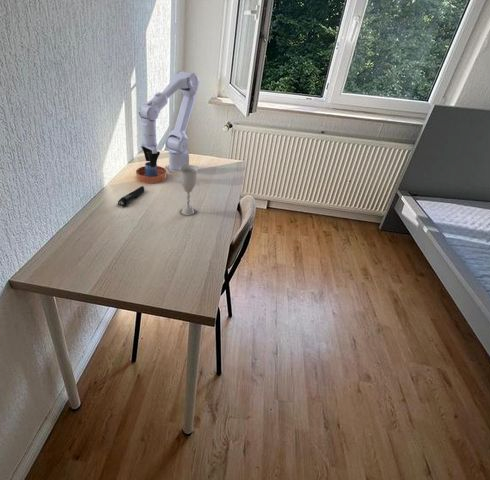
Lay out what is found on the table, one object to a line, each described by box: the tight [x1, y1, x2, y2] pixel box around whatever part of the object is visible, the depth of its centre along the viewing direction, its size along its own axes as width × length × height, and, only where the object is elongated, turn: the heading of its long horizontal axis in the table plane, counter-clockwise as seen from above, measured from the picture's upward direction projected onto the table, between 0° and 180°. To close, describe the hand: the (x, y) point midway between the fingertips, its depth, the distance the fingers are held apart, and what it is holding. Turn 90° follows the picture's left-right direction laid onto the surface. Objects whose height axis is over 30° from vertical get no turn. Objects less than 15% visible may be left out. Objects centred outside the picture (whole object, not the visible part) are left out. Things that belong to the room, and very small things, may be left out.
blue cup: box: [144, 161, 158, 177], centre depth 160 cm, size 5×5×6 cm
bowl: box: [135, 165, 168, 184], centre depth 162 cm, size 14×14×4 cm
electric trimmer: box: [117, 185, 145, 208], centre depth 143 cm, size 4×16×3 cm, turn 153°
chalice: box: [179, 164, 199, 216], centre depth 132 cm, size 7×7×18 cm
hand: (150, 163), depth 159 cm, fingers open, 7 cm apart
